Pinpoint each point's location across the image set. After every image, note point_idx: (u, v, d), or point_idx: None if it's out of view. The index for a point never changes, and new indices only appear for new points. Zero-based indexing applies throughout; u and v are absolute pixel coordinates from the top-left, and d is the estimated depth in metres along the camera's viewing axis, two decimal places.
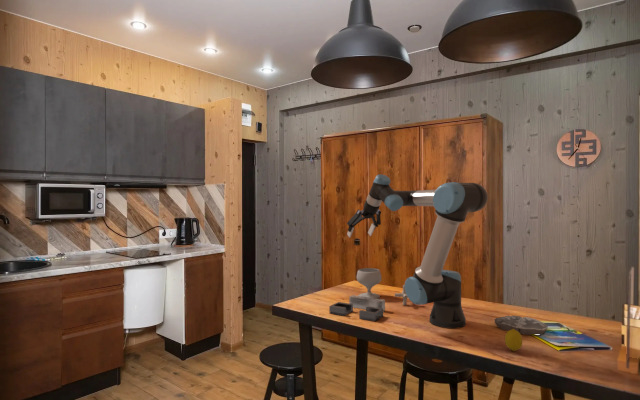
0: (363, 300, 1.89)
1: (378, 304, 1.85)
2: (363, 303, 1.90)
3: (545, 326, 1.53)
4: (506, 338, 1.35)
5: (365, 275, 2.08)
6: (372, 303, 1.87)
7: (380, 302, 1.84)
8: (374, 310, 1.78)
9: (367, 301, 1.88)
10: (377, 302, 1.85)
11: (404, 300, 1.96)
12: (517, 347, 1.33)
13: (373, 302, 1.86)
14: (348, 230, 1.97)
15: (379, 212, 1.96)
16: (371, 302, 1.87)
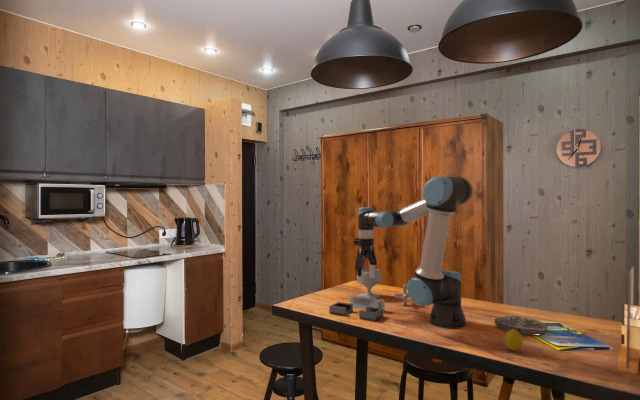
0: (363, 300, 1.90)
1: (377, 304, 1.85)
2: (362, 303, 1.90)
3: (545, 326, 1.53)
4: (506, 338, 1.35)
5: (365, 275, 2.08)
6: (372, 303, 1.87)
7: (379, 302, 1.84)
8: (374, 310, 1.78)
9: (366, 301, 1.88)
10: (376, 302, 1.85)
11: (404, 300, 1.96)
12: (517, 347, 1.33)
13: (372, 302, 1.86)
14: (358, 275, 1.83)
15: (373, 247, 1.95)
16: (371, 302, 1.87)
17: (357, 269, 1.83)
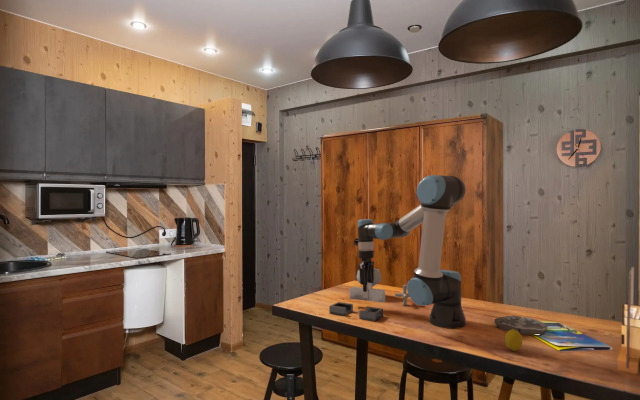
0: None
1: (378, 294, 1.85)
2: None
3: (545, 326, 1.53)
4: (506, 338, 1.35)
5: None
6: (372, 293, 1.86)
7: (380, 292, 1.84)
8: (374, 310, 1.78)
9: None
10: (377, 292, 1.85)
11: (404, 300, 1.96)
12: (517, 347, 1.33)
13: (373, 292, 1.86)
14: (364, 290, 1.87)
15: (373, 262, 1.94)
16: (371, 292, 1.87)
17: (362, 284, 1.87)
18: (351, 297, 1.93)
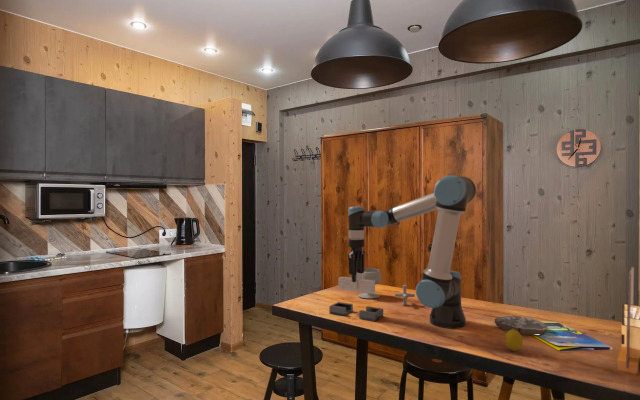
0: None
1: (368, 285, 1.76)
2: None
3: (545, 326, 1.53)
4: (506, 338, 1.35)
5: (365, 275, 2.08)
6: (361, 284, 1.78)
7: (370, 283, 1.76)
8: (374, 310, 1.78)
9: None
10: (367, 283, 1.77)
11: (404, 300, 1.96)
12: (517, 347, 1.33)
13: (362, 283, 1.78)
14: (353, 281, 1.79)
15: (364, 251, 1.85)
16: (360, 283, 1.78)
17: (351, 274, 1.79)
18: (340, 287, 1.85)
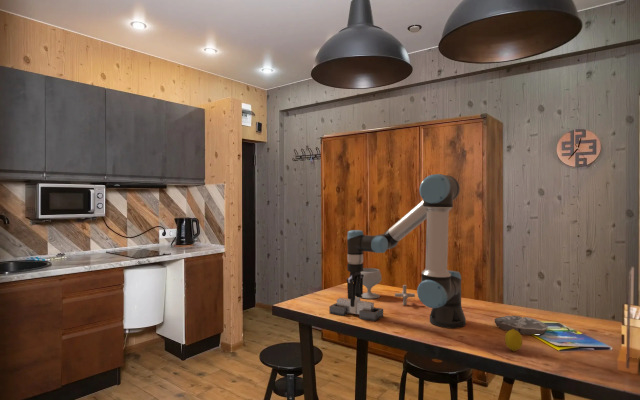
0: None
1: (367, 307, 1.75)
2: None
3: (545, 326, 1.53)
4: (506, 338, 1.35)
5: (365, 275, 2.08)
6: (360, 306, 1.77)
7: (369, 305, 1.75)
8: (374, 310, 1.78)
9: None
10: (366, 305, 1.75)
11: (404, 300, 1.96)
12: (517, 347, 1.33)
13: (361, 305, 1.77)
14: (351, 306, 1.77)
15: (362, 275, 1.84)
16: (359, 305, 1.77)
17: (350, 299, 1.77)
18: None
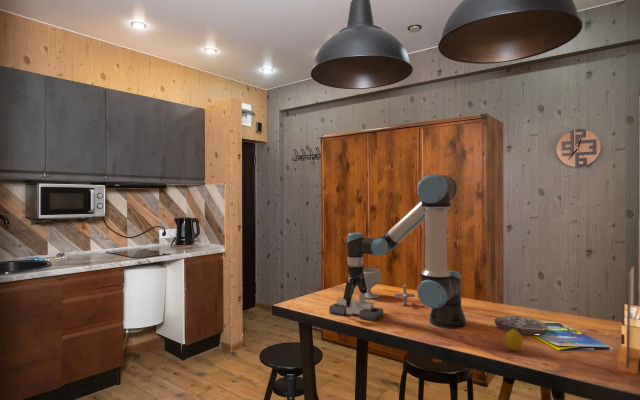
0: None
1: (367, 307, 1.75)
2: None
3: (545, 326, 1.53)
4: (506, 338, 1.35)
5: (365, 275, 2.08)
6: (360, 306, 1.77)
7: (369, 305, 1.75)
8: (374, 310, 1.78)
9: (355, 304, 1.78)
10: (366, 305, 1.75)
11: (404, 300, 1.96)
12: (517, 347, 1.33)
13: (361, 305, 1.77)
14: (347, 306, 1.73)
15: (363, 274, 1.84)
16: (359, 305, 1.77)
17: (346, 299, 1.73)
18: None
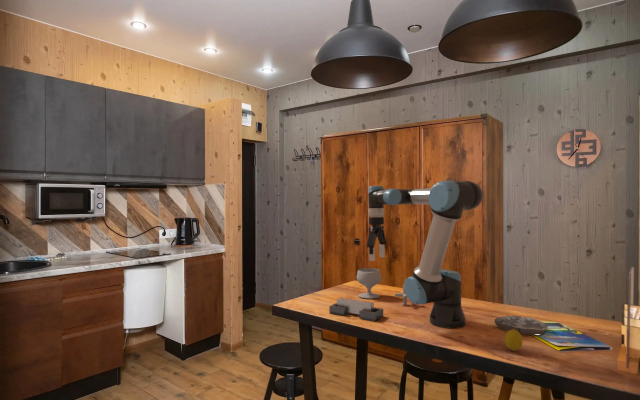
0: (351, 303, 1.80)
1: (367, 307, 1.75)
2: (350, 306, 1.80)
3: (545, 326, 1.53)
4: (506, 338, 1.35)
5: (365, 275, 2.08)
6: (360, 306, 1.77)
7: (369, 305, 1.75)
8: (374, 310, 1.78)
9: (355, 304, 1.78)
10: (366, 305, 1.75)
11: (404, 300, 1.96)
12: (517, 347, 1.33)
13: (361, 305, 1.77)
14: (370, 253, 1.83)
15: (382, 226, 1.95)
16: (359, 305, 1.77)
17: (369, 247, 1.83)
18: None
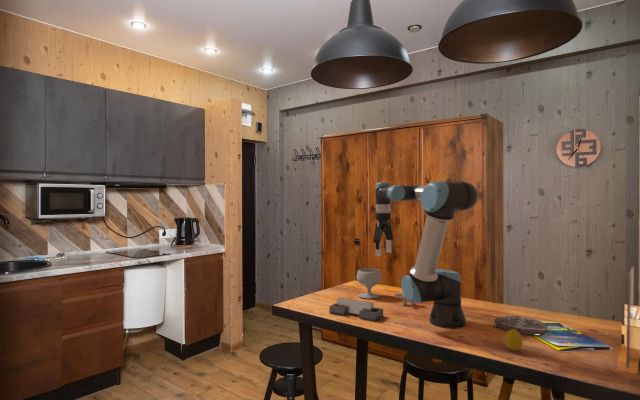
0: (351, 303, 1.80)
1: (367, 307, 1.75)
2: (350, 306, 1.80)
3: (545, 326, 1.53)
4: (506, 338, 1.35)
5: (365, 275, 2.08)
6: (360, 306, 1.77)
7: (369, 305, 1.75)
8: (374, 310, 1.78)
9: (355, 304, 1.78)
10: (366, 305, 1.75)
11: (404, 300, 1.96)
12: (517, 347, 1.33)
13: (361, 305, 1.77)
14: (376, 248, 1.87)
15: (389, 222, 1.98)
16: (359, 305, 1.77)
17: (375, 242, 1.87)
18: None
